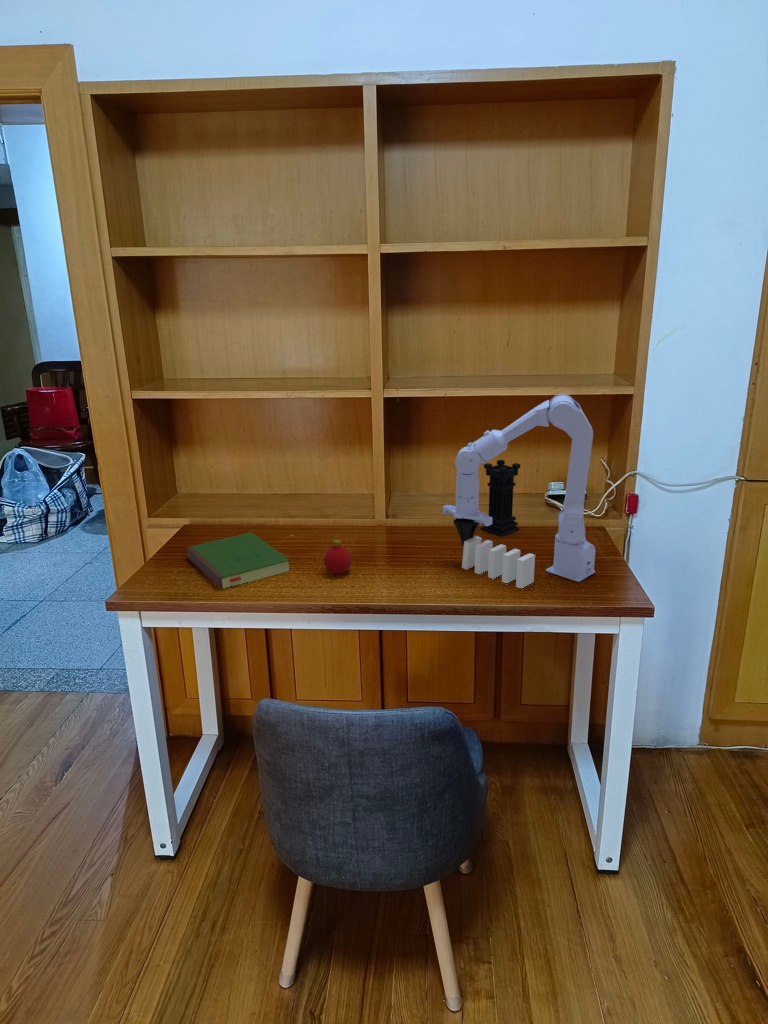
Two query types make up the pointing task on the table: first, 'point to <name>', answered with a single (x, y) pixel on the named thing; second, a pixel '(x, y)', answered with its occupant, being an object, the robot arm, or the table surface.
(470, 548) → the domino
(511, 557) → the domino
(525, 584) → the domino
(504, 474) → the chess piece
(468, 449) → the robot arm
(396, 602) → the table surface
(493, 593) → the table surface
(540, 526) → the table surface
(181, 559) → the table surface
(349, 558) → the christmas ornament
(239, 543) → the hardcover book
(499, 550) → the domino
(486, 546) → the domino
